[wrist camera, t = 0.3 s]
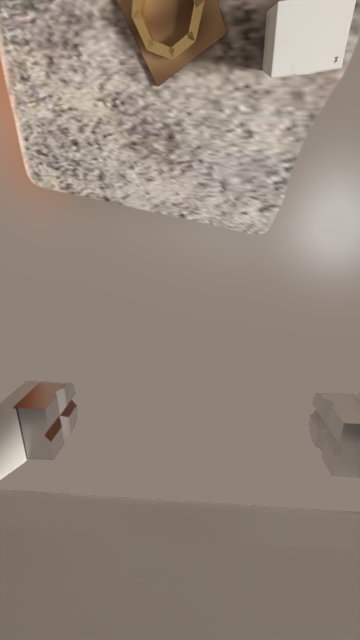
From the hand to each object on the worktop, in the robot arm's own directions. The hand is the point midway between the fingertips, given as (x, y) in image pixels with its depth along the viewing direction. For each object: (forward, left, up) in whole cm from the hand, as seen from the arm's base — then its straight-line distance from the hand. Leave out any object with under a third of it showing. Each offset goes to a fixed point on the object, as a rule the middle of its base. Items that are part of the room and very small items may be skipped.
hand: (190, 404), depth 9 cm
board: (-14, -2, -53) cm, 55 cm away
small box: (-3, +12, -54) cm, 55 cm away
